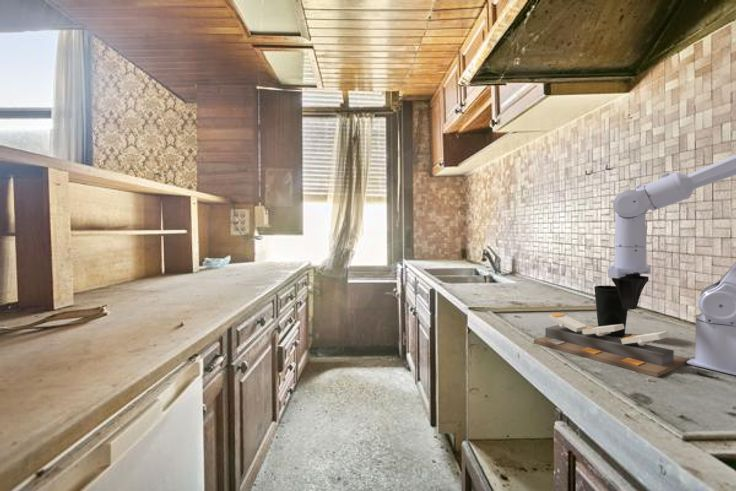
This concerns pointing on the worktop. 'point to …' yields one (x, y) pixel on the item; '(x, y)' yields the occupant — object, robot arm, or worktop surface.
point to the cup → (610, 309)
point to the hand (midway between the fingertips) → (629, 308)
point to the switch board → (615, 358)
